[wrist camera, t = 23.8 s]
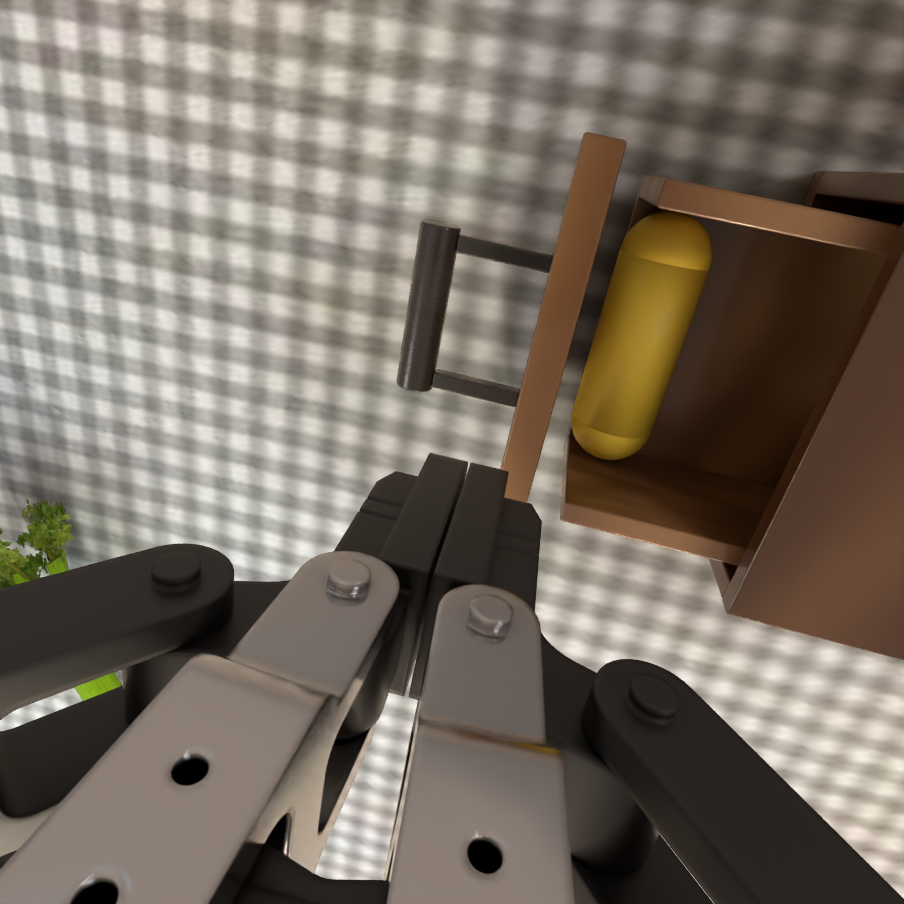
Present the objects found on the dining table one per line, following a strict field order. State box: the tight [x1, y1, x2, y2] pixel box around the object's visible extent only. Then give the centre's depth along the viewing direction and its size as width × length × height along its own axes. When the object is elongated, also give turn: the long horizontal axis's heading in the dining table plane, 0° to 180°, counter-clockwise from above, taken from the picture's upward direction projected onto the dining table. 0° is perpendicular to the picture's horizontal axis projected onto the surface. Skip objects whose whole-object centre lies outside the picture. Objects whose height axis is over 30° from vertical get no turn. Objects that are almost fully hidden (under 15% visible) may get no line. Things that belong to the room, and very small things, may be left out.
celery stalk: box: [0, 499, 123, 701], centre depth 40 cm, size 6×7×30 cm
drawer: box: [397, 132, 901, 566], centre depth 23 cm, size 19×13×7 cm
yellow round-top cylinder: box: [571, 211, 713, 460], centre depth 24 cm, size 10×3×3 cm, turn 170°
